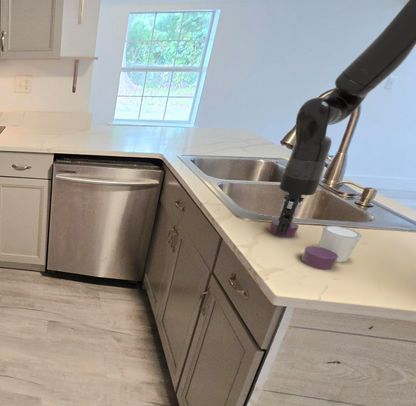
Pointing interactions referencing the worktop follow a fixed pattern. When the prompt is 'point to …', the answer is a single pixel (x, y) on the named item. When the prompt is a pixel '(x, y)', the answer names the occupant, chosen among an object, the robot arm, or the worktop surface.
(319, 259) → the purple short cylinder
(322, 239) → the shot glass
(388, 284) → the worktop surface
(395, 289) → the worktop surface
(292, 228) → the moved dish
